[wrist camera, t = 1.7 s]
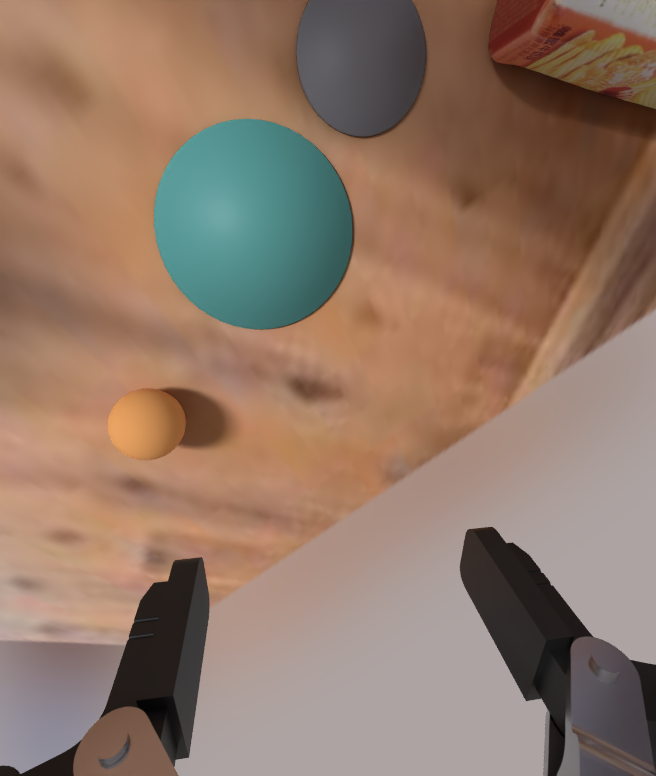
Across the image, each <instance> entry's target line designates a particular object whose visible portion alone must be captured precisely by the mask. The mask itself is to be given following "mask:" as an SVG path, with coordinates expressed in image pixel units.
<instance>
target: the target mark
mask: <svg viewBox="0 0 656 776" xmlns="http://www.w3.org/2000/svg"><path fill="white" fill-rule="evenodd" d="M154 227H155V234H156V241H157V244H158V248H159V252H160V255H161V257H162V260H163V262H164V265H165V267H166V269H167V271H168V272H169V274H170V276H171V278H172V279H173V281H174V282H175V284H176V285H177V286H178V288H179V289H180V290H181V291H182V293H183V294H184V295H185V296H186V297H187V298H188V299H189V300H190V301H191V302H192V303H194V304H195V305H196V306H197V307H198V308H199V309H201V310H202V311H204V312H205V313H207V314H208V315H210V316H212V317H214V318H216V319H218V320H220V321H222V322H225V323H228V324H230V325H233V326H238V327H242V328H249V329H271V328H277V327H282V326H285V325H289V324H292V323H294V322H296V321H299V320H301V319H303V318H304V317H306V316H308V315H309V314H311V313H312V312H314V311H315V310H316V309H317V308H319V307H320V306H321V305H322V304H323V303H324V302H325V301H326V300H327V299H328V298H329V296H330V295H331V294H332V293H333V291H334V290H335V289H336V287H337V285H338V283H339V282H340V280H341V278H342V276H343V274H344V271H345V269H346V267H347V263H348V260H349V256H350V251H351V245H352V230H353V229H352V216H351V211H350V205H349V201H348V198H347V195H346V192H345V189H344V187H343V185H342V183H341V180H340V178H339V176H338V175H337V173H336V171H335V170H334V168H333V166H332V165H331V164H330V162H329V161H328V160H327V159H326V157H325V156H324V155H323V154H322V153H321V152H320V151H319V150H318V149H317V148H316V147H315V146H314V145H313V144H312V143H311V142H309V141H308V140H307V139H305V138H304V137H302V136H301V135H300V134H298V133H296V132H294V131H292V130H290V129H289V128H286V127H284V126H281V125H278V124H276V123H272V122H268V121H263V120H255V119H239V120H230V121H226V122H222V123H218V124H216V125H213V126H211V127H209V128H206V129H204V130H203V131H201V132H199V133H198V134H196V135H195V136H193V137H192V138H191V139H190V140H188V141H187V142H186V143H185V144H184V145H183V146H182V147H181V148H180V149H179V150H178V151H177V153H176V154H175V155H174V156H173V158H172V159H171V161H170V162H169V164H168V166H167V167H166V169H165V171H164V174H163V176H162V178H161V181H160V183H159V187H158V191H157V195H156V200H155V209H154Z"/></svg>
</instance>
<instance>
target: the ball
mask: <svg viewBox="0 0 656 776" xmlns="http://www.w3.org/2000/svg"><path fill="white" fill-rule="evenodd" d="M185 428H186V418H185V414H184V411H183V409H182V407H181V405H180V404H179V402H178V401H177V400H176V399H175V398H174V397H172V396H171V395H169V394H167V393H166V392H163V391H160V390H156V389H140V390H136V391H133V392H131V393H129V394H127V395H125V396H124V397H122V398H121V399H120V400H119V401H118V402H117V403H116V404H115V406H114V407H113V409H112V411H111V413H110V415H109V419H108V432H109V436H110V439H111V441H112V443H113V444H114V446H115V447H116V448H117V449H118V450H119V451H120V452H122V453H123V454H125V455H126V456H128V457H131V458H134V459H138V460H153V459H157V458H160V457H163V456H165V455H167V454H168V453H170V452H171V451H172V450H174V449H175V448H176V447H177V445H178V444H179V443H180V441H181V440H182V438H183V435H184V433H185Z"/></svg>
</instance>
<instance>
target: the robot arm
mask: <svg viewBox="0 0 656 776" xmlns="http://www.w3.org/2000/svg"><path fill="white" fill-rule="evenodd" d="M460 572H461V578H462V581H463V584H464V586H465V588H466V590H467V592H468V594H469V596H470V598H471V599H472V601H473V603H474V605H475V607H476V609H477V611H478V613H479V614H480V616H481V618H482V620H483V622H484V624H485V626H486V627H487V629H488V631H489V633H490V635H491V637H492V639H493V640H494V642H495V644H496V646H497V648H498V650H499V652H500V653H501V655H502V657H503V659H504V661H505V662H506V664H507V666H508V668H509V670H510V672H511V674H512V676H513V678H514V679H515V681H516V683H517V685H518V687H519V688H520V691H521V692H522V694H523V696H524V698H525V700H526V701H529V700H535V699H541V698H542V700H543V702H544V703H545V705H546V707H547V709H548V710H547V713H546V724H545V747H544V748H545V749H544V772H543V776H656V665H653V664H648V663H643V662H637V661H633V660H629V658H628V657H627V656H626V655H625V654H623V653H622V652H621V651H620V650H618V649H617V648H616V647H615V646H613V645H611V644H610V643H608V642H606V641H604V640H601V639H598V638H595V637H593V636H592V635H591V634H590V633H589V631H588V630H587V629H586V628H585V626H584V625H583V624H582V622H581V621H580V620H579V619H578V617H577V616H576V615H575V613H574V612H573V611H572V610H571V608H570V607H569V606H568V605H567V603H566V602H565V601H564V600H563V598H562V597H561V595H560V594H559V593H558V592H557V591H556V589H555V588H554V586H551V584H550V581H549V580H548V579H547V578H546V576H545V575H544V574H543V573H541V570H540V568H539V567H538V566H537V565H536V563H535V562H534V561H533V560H532V558H531V557H530V556H529V555H528V554H527V553H526V552H524V551H523V550H522V549H520V548H519V547H518V546H516V545H515V544H514V543H506V542H505V541H504V540H503V538H502V537H501V536H500V534H499V533H498V532H497V531H496V529H494V528H493V527H485V528H477V529H469V530H467V532H466V536H465V541H464V546H463V552H462V557H461V563H460ZM208 619H209V592H208V586H207V580H206V574H205V568H204V562H203V559H202V557H201V558H191V559H182V560H175V561H174V562H173V565H172V569H171V572H170V576H169V580H168V581H166V582H157V583H153V585H152V586H151V587H150V589H149V590H148V591H147V593H146V594H145V595H144V597H143V598H142V599H141V601H140V604H139V607H138V610H137V613H136V616H135V619H134V624H133V625H132V628H131V631H130V634H129V640H128V641H127V644H126V647H125V650H124V653H123V656H122V659H121V662H120V665H119V668H118V671H117V675H116V678H115V680H114V684H113V687H112V690H111V693H110V696H109V699H108V702H107V705H106V707H105V710H104V712H103V714H102V715H101V717H100V719H99V720H98V721H97V722H96V723H95V724H94V725H93V726H92V727H91V728H90V729H89V730H88V732H87V733H86V734H85V736H84V737H83V739H82V740H81V741H80V742H78V743H77V744H76V745H75V746H73V747H72V748H70V749H69V750H67V751H66V752H64V753H62V754H60V755H58V756H56V757H54V758H52V759H50V760H48V761H46V762H44V763H42V764H40V765H38V766H36V767H34V768H32V769H30V770H28V771H26V772H24V773H22V774H20V773H19V772H18V771H17V770H16V769H15V768H13V767H10V766H0V776H178V774H177V772H176V770H175V768H174V766H175V760H176V759H183V758H188V757H189V753H190V745H191V739H192V732H193V725H194V717H195V711H196V704H197V697H198V689H199V682H200V675H201V667H202V660H203V654H204V646H205V640H206V633H207V626H208Z"/></svg>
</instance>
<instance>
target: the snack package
mask: <svg viewBox="0 0 656 776" xmlns="http://www.w3.org/2000/svg"><path fill="white" fill-rule="evenodd" d="M488 50H489V53H490V55H491V57H492V59H493V60H494V61H496V62H498V63H502V64H512V65H517V66H521V67H524V68H527V69H530V70H533V71H536V72H540V73H542V74H545V75H548V76H551V77H554V78H557V79H560V80H562V81H565V82H568V83H571V84H574V85H577V86H580V87H582V88H586V89H589V90H592V91H595V92H598V93H600V94H603V95H607V96H611V97H616V98H619V99H622V100H625V101H629V102H633V103H637V104H641V105H643V106H647V107H650V108H654V109H656V0H497V4H496V8H495V12H494V16H493V20H492V24H491V29H490V35H489V48H488Z"/></svg>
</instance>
